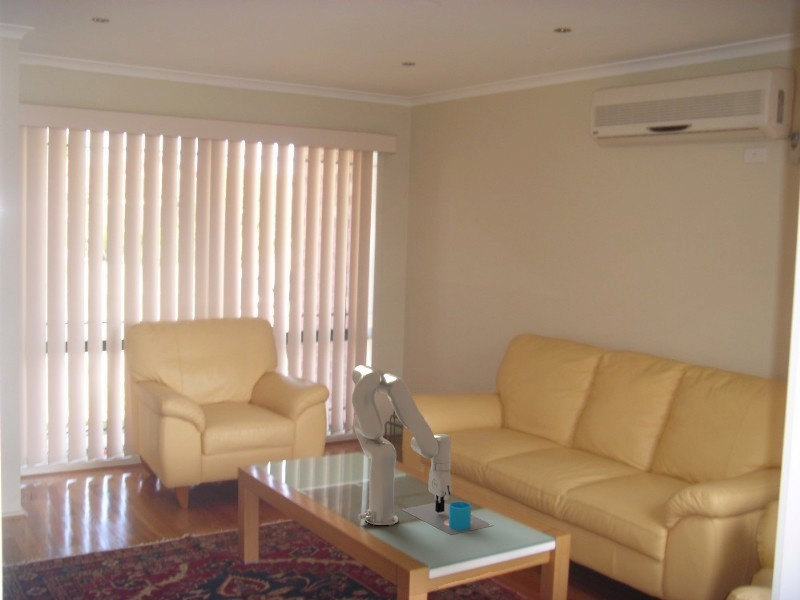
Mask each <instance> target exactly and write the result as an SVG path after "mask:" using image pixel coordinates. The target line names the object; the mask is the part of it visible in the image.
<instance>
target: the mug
mask: <svg viewBox="0 0 800 600" xmlns="http://www.w3.org/2000/svg"><path fill="white" fill-rule="evenodd" d="M471 513H472V505H471V503H469V502H464V501H453V502H451V503H449V527H450V528H452V529H455V530H466V529H469V528H470V527H471V515H472V514H471Z"/></svg>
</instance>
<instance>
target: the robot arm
mask: <svg viewBox="0 0 800 600" xmlns="http://www.w3.org/2000/svg"><path fill="white" fill-rule="evenodd" d="M351 380H352V382H353V383H354V385H355V387H354V389H353V392H352V396H351V403H352V404H351V405H352V407H353V411H354V413H355V415H354V418H353V422H352V423H353V429H354V432H355V434H356V437H357V440H358V442H359V445H360V447H361V449H362V451H363V454H364V455H365V456H366V457H367V458H368V459H370V461H371V462H370V463H371V464H370V468H369V475H368V476H369V477H368V479H369V481H368V482H369V484H368V485H369V493H368V495H369V498H368V501H369V502H368V503H369V505H368V509H366V512H364V513H358V514H357V519H358V520H363V519H364V521H365V520H366V521H367V522H369V523H372V524H377V525H389V526H393V525H395V523H396V524H397V523H398V521H399V517H398V515H395V470H396V462H397V450H396V448H395V446H394V444H393V443H392V442H390V441H389V440H388V439H386V438H384V436H383V435H384V432H385V424H384V421H383V419H382V417H381V414H380V411H379V409H378V406H377V402H376V399H375V395H376V393H380V394H383V395H385V396H387V399H388V400H389V403H390V405H391V406H392V409H393V411H394V412H395V416H396V417H397V419H398V420H399V421H400V423H401V424H402V425H403V427H405V428H406V429H407V430H408V432H410V434H411V436H412V438H411V440H410V447H411V449H412V450H413V451H414V452H415V453H416V454H418V455H420V456H422V457H423V458H425V459H430V462H431V464H430V465H431V467H430V469H429V474H428V484H427V485H428V486H427V487H428V491H429V493H431V494H432V495H433V496H434V497H433V498H434V502H435V503H436V506H435V511H436V512H438V513H439V512H444V505H445V503H446V501H449V500H450V496H451V494H452V476H451V475H452V474H451V450H452V438H451V436H450V435H449V434H447V433H436V434H435V433H434V432H433V430H432V428H431V426H430V425H429V424H428V421H427V420H426V419H425V417H424V416H423V415H422V413H421V411H420V409H419V408H418V406H417V403H416V402H415V400H414V398H413V396H412V393H411V391H410V389H409V387H408V385H407V383H406V381H405V380H404V379H403V378H402V377H400V376H398V375H396V374H393V373H390V372H386V371H383V370H380V369H378V368H374V367H372V366H370V365H366V364H360V365H357V366H356V367H354V368H353V370H352V373H351Z"/></svg>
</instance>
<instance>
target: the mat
mask: <svg viewBox="0 0 800 600" xmlns="http://www.w3.org/2000/svg"><path fill="white" fill-rule="evenodd" d="M449 504H450V503H449ZM449 504H448V503H447V502H445V505H444V512H439V513H438V512H436V511H435V506H436V502H432V503H426V504H422V505H420V504H419V505H417V506H416V505H415V506H410V507H406V508H401V509H400V510H401V511H403V512H404V513H407V514H409V515H411V516H413V517H415V518H417V519H418V520H421V521H423V522H425V523H427V524H429V525H431V526H433V527H434V528H437V529H438V530H441V531H443V532H444V533H447V534H448V535H450V536H452V535H457V534H461V533H466V531H467V532H471V531H475V530H479V529H483V528H484V529H485V528H489V527H490V526H489V525H490V524H491V523H490V524H489V522H487V521H485V520H484V519H481V518H479V517H477V516H475V515H472V514H471V527H470V528H469V529H466V530H455V529H452V528H450V527H449Z"/></svg>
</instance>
